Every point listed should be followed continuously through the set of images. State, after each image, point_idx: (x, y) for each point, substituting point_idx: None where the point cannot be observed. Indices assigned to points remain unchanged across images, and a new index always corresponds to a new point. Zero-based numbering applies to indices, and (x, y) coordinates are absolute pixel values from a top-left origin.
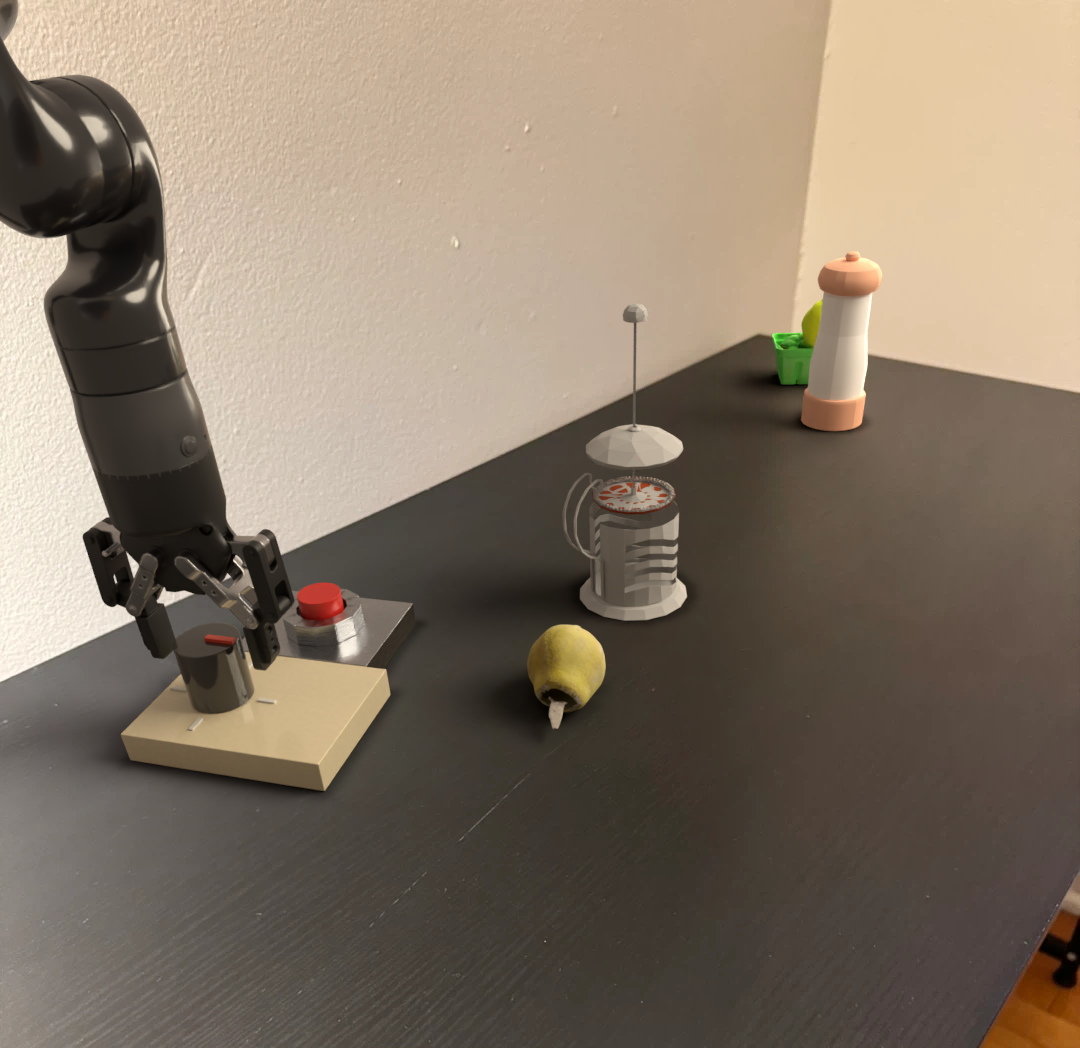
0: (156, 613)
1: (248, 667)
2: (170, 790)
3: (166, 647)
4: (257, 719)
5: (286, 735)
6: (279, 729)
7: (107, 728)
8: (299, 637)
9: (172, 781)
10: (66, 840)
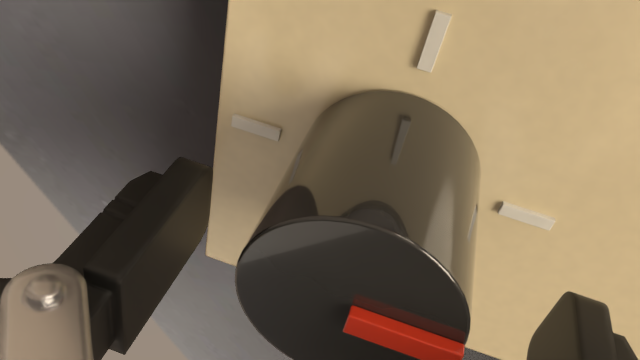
0: (128, 308)
1: (476, 212)
2: None
3: (198, 215)
4: (506, 272)
5: None
6: None
7: (128, 107)
8: None
9: None
10: (232, 343)
